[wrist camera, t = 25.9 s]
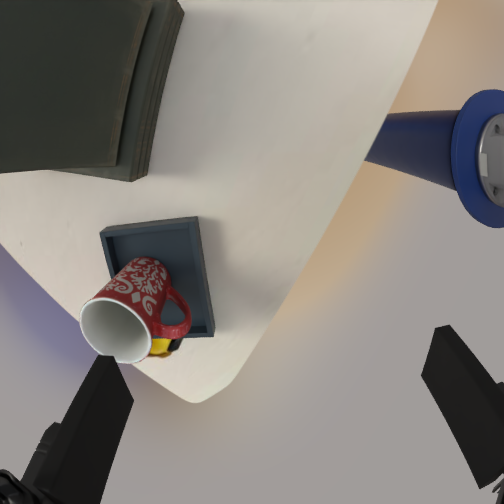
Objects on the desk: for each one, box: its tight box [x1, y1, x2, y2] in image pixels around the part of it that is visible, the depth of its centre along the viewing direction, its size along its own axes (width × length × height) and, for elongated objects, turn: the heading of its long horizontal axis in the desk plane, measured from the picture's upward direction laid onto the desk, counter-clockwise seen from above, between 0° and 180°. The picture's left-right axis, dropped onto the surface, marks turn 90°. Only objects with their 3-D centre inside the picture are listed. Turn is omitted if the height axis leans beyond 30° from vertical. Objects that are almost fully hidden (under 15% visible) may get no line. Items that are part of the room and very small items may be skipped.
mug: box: [79, 257, 192, 364], centre depth 37 cm, size 13×9×14 cm
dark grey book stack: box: [0, 0, 184, 182], centre depth 22 cm, size 23×20×25 cm
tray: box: [100, 216, 215, 339], centre depth 43 cm, size 14×18×3 cm
